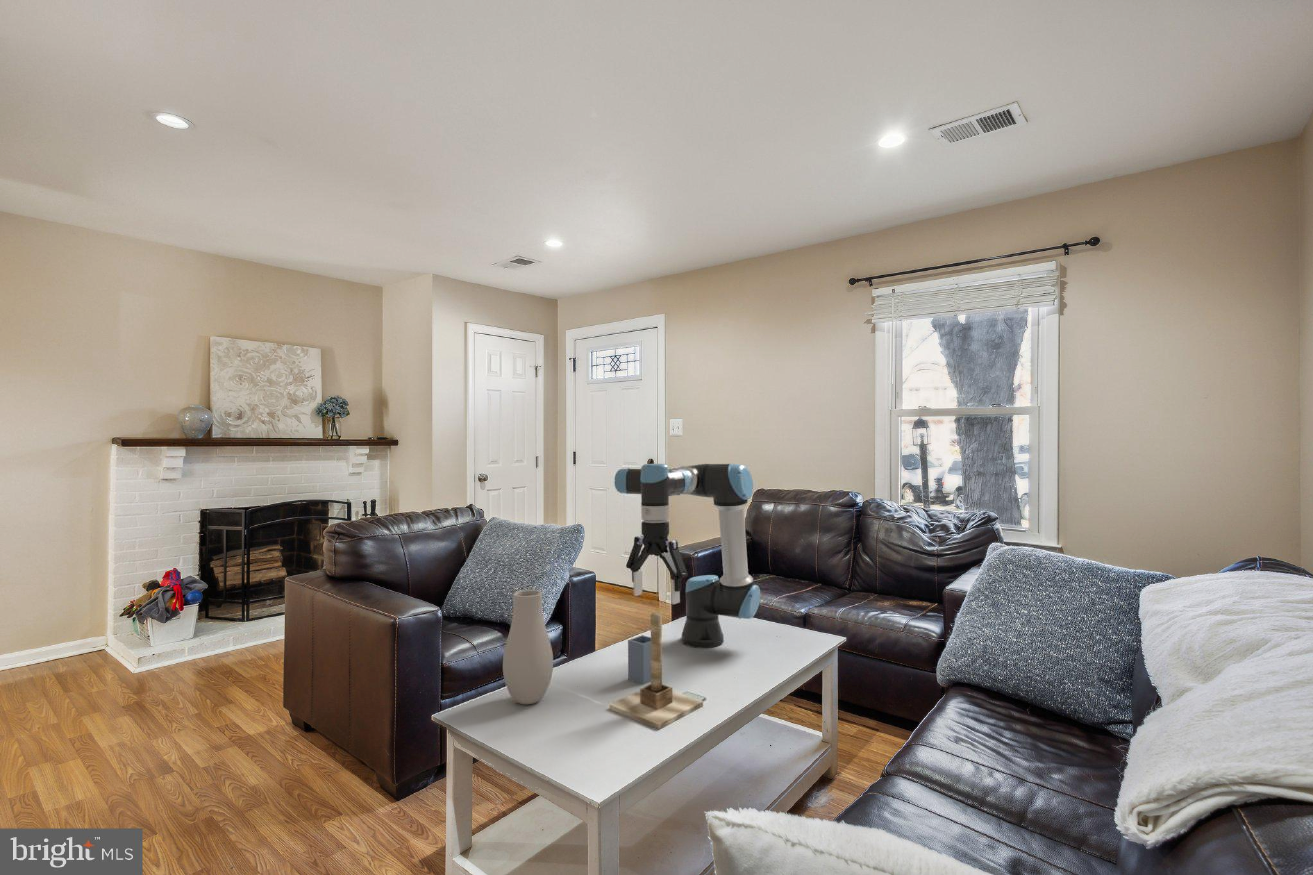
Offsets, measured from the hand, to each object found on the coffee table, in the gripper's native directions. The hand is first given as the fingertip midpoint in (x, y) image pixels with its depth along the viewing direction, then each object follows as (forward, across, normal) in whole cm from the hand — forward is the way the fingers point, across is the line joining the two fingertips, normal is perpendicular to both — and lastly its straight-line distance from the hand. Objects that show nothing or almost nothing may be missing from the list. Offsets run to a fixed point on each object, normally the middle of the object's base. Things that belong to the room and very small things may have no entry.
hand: (656, 598), depth 166 cm
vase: (+29, -30, -21) cm, 47 cm away
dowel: (+28, 0, -1) cm, 28 cm away
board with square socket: (+29, 0, -1) cm, 29 cm away
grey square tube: (+29, -16, +11) cm, 35 cm away
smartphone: (+30, +4, +5) cm, 31 cm away
